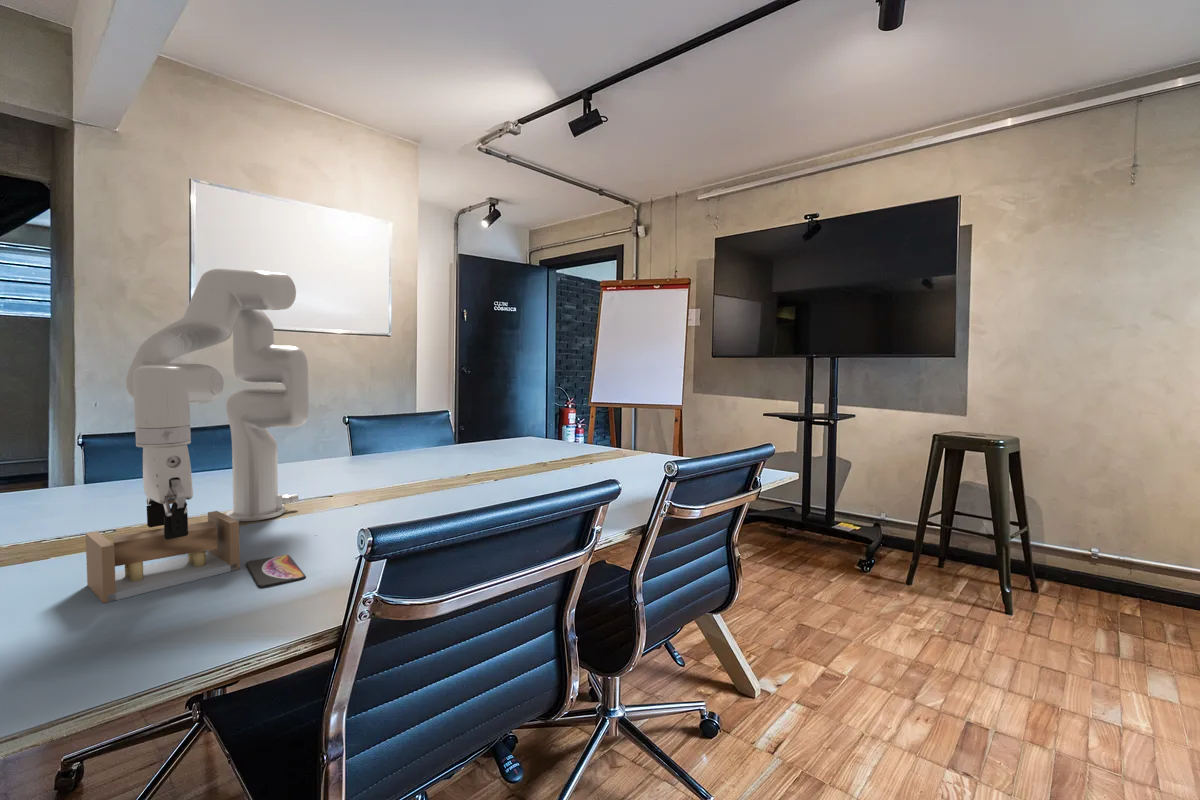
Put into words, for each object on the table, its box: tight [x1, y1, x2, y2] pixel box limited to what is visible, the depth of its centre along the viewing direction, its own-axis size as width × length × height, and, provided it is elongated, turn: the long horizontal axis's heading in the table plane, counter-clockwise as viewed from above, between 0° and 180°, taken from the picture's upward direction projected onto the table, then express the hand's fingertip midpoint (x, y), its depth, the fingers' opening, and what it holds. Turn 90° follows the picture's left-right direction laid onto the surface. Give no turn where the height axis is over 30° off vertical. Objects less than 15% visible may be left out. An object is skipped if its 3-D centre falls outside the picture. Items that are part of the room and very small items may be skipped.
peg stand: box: [85, 510, 241, 604], centre depth 96 cm, size 19×11×9 cm, turn 143°
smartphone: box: [245, 554, 307, 589], centre depth 100 cm, size 8×1×15 cm
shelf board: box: [112, 521, 217, 567], centre depth 96 cm, size 14×5×4 cm, turn 133°
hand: (167, 531), depth 96 cm, fingers open, 9 cm apart
